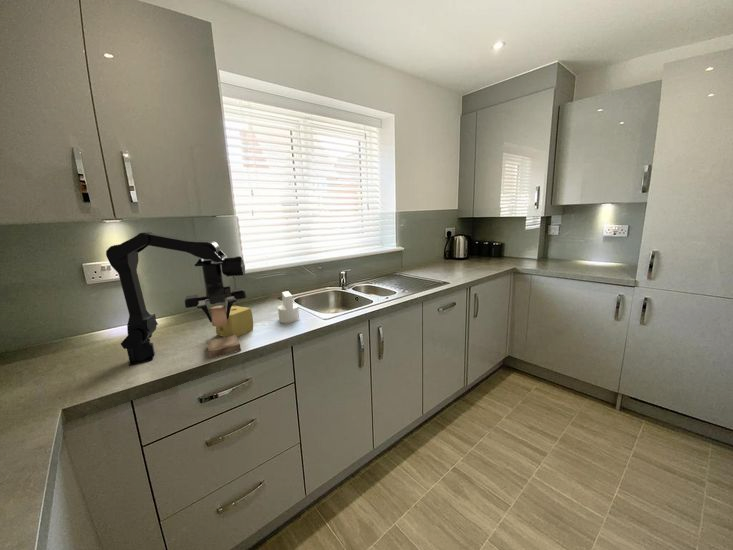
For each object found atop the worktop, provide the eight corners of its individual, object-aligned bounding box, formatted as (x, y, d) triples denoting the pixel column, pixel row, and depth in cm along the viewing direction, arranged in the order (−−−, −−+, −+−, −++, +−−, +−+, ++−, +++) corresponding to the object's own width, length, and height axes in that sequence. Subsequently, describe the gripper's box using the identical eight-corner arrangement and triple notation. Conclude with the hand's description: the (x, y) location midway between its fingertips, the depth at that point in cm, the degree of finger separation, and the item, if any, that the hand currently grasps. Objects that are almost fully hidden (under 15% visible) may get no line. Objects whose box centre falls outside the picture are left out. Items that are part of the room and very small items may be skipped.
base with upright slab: (277, 317, 138) (275, 293, 135) (297, 314, 141) (294, 290, 139) (280, 324, 130) (278, 297, 127) (301, 320, 133) (299, 294, 131)
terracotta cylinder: (212, 327, 102) (210, 311, 101) (211, 323, 106) (209, 307, 105) (228, 324, 105) (226, 308, 103) (226, 320, 109) (224, 304, 108)
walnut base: (209, 358, 101) (208, 351, 100) (207, 347, 109) (206, 340, 109) (240, 350, 106) (239, 343, 105) (236, 340, 114) (235, 334, 114)
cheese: (216, 335, 120) (212, 312, 118) (238, 326, 130) (235, 304, 127) (233, 339, 115) (230, 315, 113) (255, 329, 125) (252, 307, 123)
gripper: (181, 286, 91) (189, 334, 94) (245, 277, 100) (251, 321, 103) (181, 280, 100) (189, 323, 103) (240, 272, 109) (245, 312, 113)
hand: (219, 320), depth 105 cm, fingers closed on terracotta cylinder, 5 cm apart
